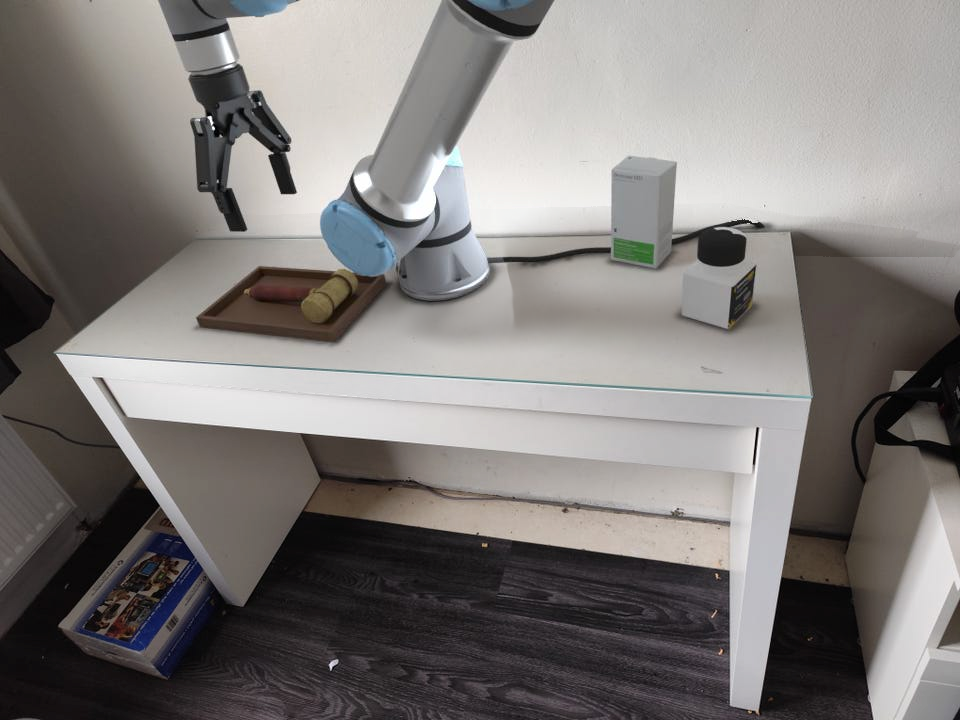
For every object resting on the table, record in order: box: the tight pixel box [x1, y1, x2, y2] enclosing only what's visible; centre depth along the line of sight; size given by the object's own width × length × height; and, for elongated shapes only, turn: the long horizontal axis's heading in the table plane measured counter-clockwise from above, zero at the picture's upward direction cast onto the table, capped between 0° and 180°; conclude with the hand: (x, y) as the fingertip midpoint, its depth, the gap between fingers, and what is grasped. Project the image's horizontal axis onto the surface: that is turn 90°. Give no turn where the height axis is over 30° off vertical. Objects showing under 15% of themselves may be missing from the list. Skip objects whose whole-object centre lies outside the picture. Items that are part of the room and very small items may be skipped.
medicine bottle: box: [681, 227, 757, 330], centre depth 91 cm, size 7×7×12 cm
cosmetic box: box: [610, 155, 678, 270], centre depth 105 cm, size 8×7×16 cm
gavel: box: [244, 268, 359, 324], centre depth 112 cm, size 21×5×10 cm
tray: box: [195, 265, 388, 343], centre depth 113 cm, size 27×18×2 cm, turn 69°
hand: (265, 211), depth 105 cm, fingers open, 13 cm apart
